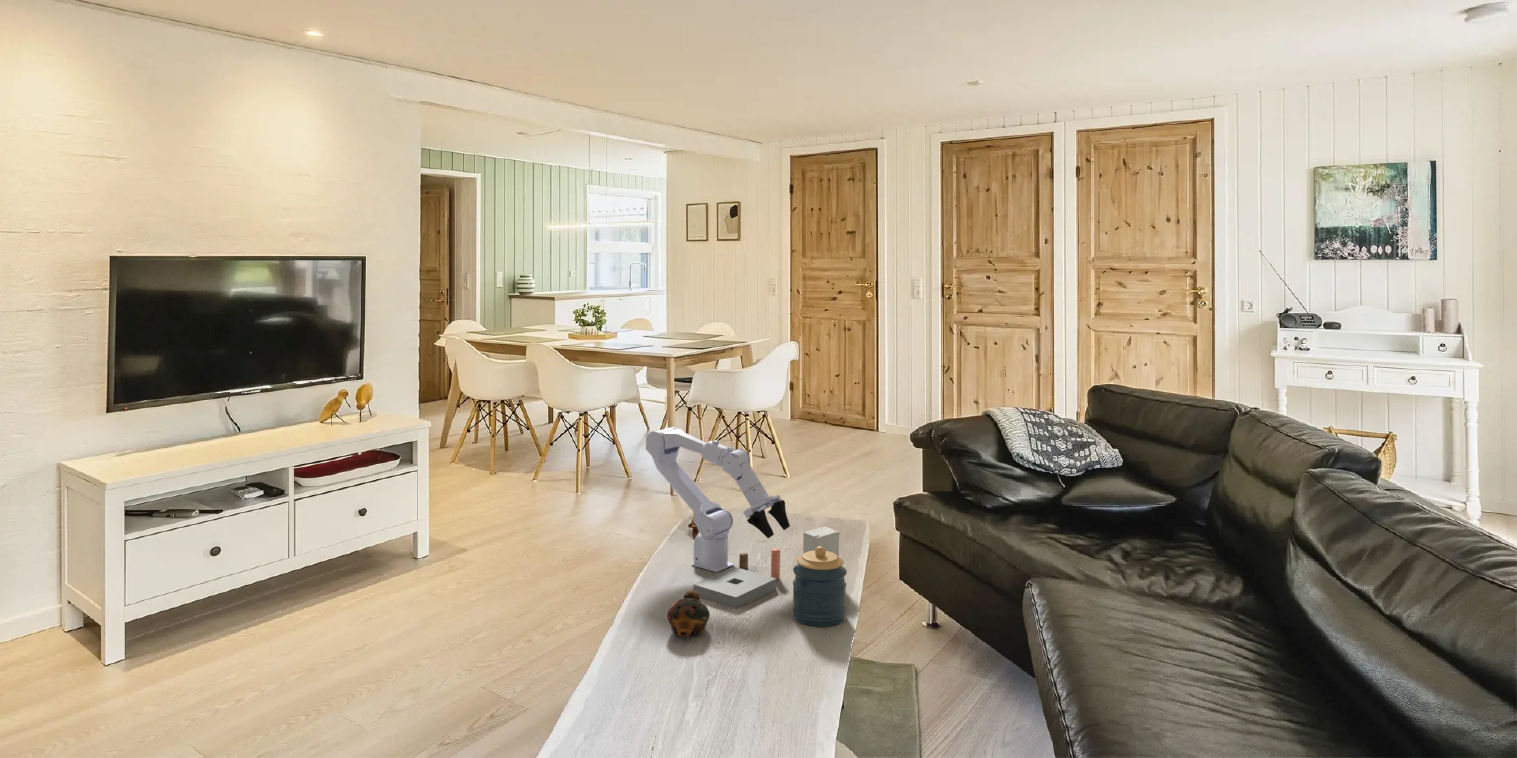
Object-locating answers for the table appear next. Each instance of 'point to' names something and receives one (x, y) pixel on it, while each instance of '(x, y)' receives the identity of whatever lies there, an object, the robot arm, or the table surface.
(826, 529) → the skincare box
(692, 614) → the decorative turtle
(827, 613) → the canister
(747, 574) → the hole plate
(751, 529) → the table surface
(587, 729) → the table surface
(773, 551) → the long pin
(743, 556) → the short pin
